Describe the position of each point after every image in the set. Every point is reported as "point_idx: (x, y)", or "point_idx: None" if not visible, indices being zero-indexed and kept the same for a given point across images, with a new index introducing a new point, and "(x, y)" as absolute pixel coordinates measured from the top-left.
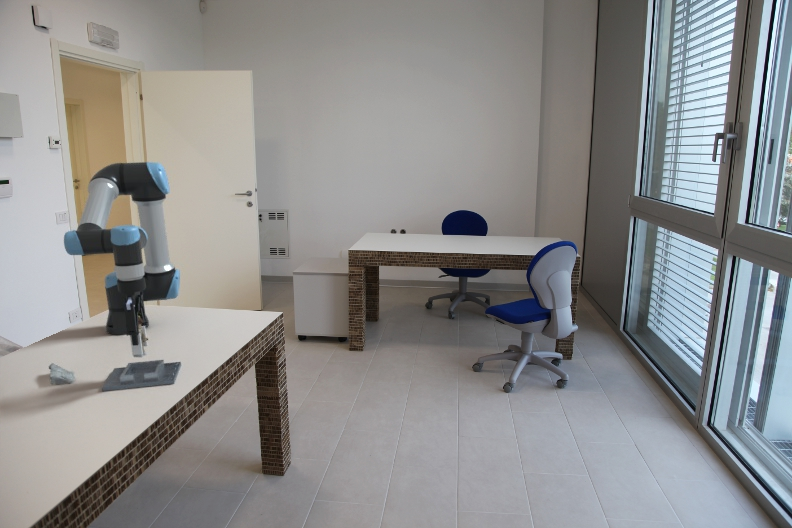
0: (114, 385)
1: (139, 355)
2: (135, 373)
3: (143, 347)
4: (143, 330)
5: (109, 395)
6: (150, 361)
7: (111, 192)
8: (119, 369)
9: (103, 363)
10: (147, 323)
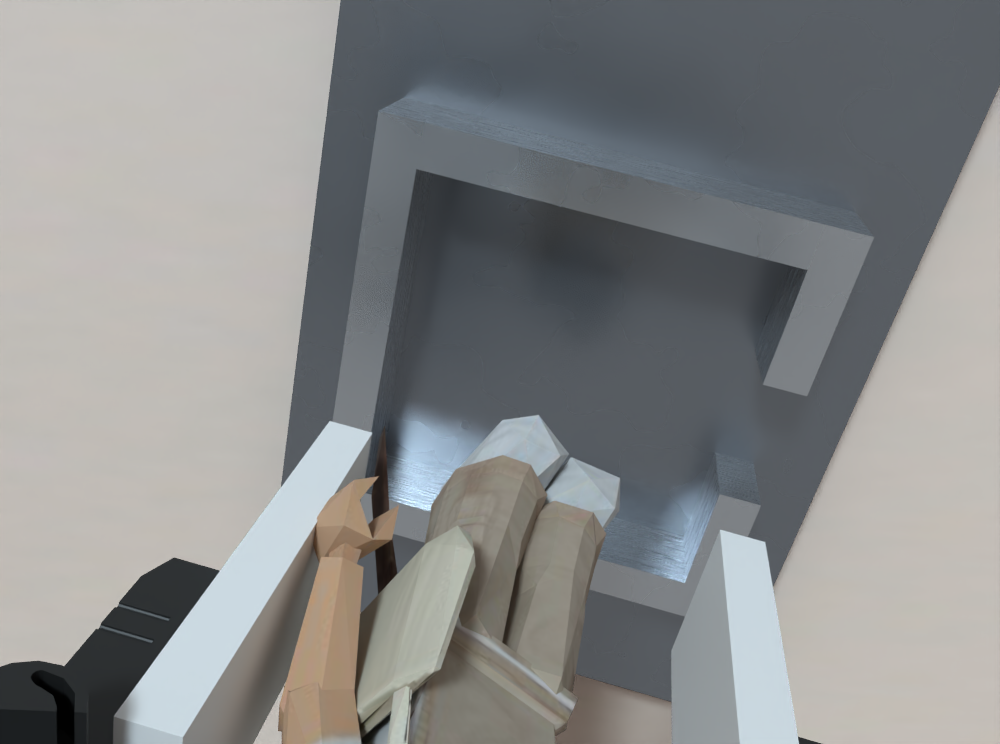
0: None
1: (602, 527)
2: None
3: (496, 512)
4: (229, 679)
5: (851, 645)
6: (372, 286)
7: None
8: None
9: (49, 619)
10: (16, 686)
